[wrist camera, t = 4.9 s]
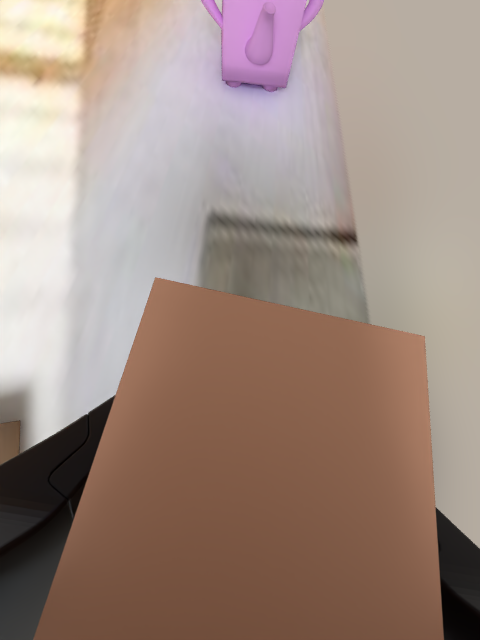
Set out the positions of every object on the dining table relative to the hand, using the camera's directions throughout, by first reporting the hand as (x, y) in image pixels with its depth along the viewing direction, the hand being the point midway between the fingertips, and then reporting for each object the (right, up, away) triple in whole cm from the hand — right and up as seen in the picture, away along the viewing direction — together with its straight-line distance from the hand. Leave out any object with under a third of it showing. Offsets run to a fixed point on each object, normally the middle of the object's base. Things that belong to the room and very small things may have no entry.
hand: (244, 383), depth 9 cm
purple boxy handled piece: (+1, +39, +26) cm, 47 cm away
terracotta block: (-1, -3, +6) cm, 7 cm away
